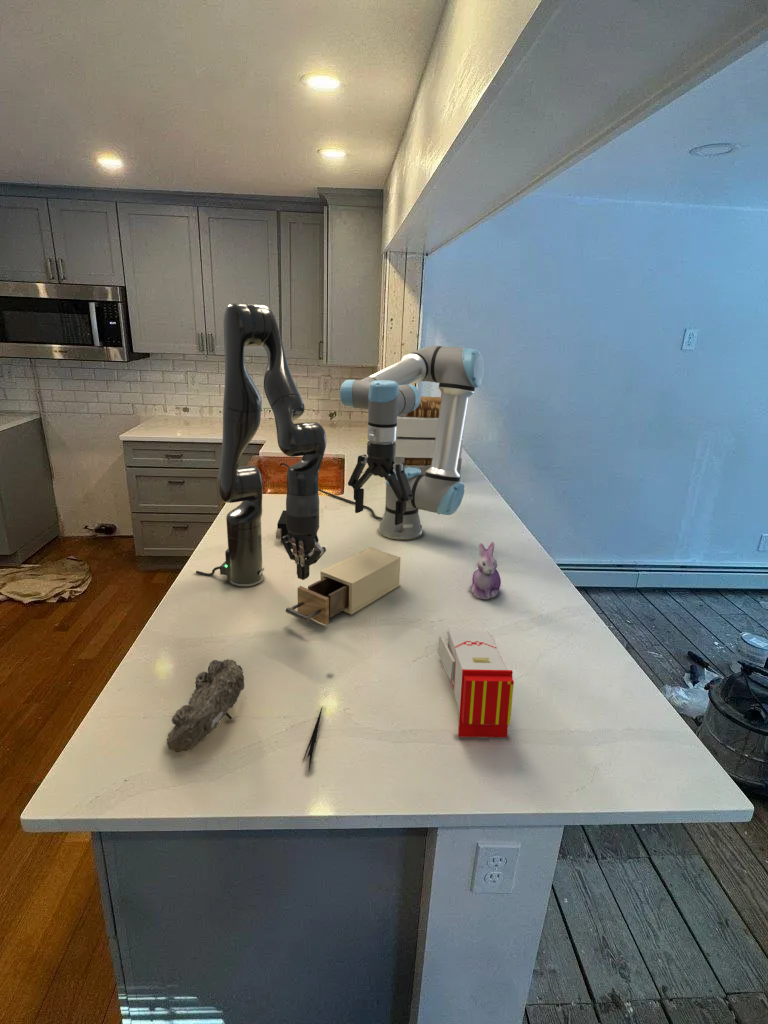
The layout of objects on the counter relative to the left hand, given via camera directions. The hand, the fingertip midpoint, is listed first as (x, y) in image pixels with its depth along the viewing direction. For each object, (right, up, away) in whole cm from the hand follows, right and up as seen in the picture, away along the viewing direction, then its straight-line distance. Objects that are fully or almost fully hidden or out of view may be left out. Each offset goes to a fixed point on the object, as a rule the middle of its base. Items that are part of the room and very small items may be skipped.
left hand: (303, 578), depth 135 cm
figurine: (+48, -7, +25) cm, 55 cm away
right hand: (+18, +14, +20) cm, 30 cm away
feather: (+7, -24, -27) cm, 37 cm away
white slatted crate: (+37, +35, +140) cm, 148 cm away
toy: (+37, -22, -17) cm, 46 cm away
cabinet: (+13, -7, +22) cm, 26 cm away
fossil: (-13, -23, -27) cm, 38 cm away
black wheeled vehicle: (-13, +7, +57) cm, 59 cm away
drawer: (+5, -9, +12) cm, 16 cm away
